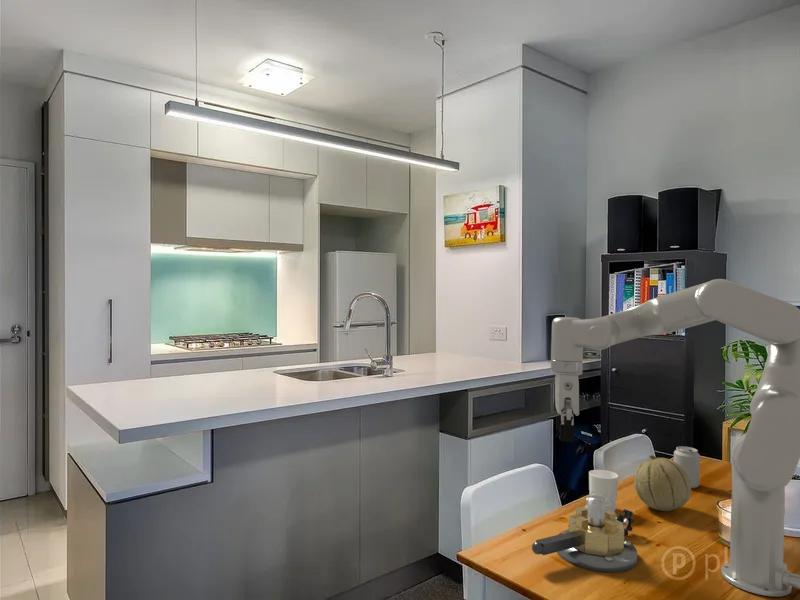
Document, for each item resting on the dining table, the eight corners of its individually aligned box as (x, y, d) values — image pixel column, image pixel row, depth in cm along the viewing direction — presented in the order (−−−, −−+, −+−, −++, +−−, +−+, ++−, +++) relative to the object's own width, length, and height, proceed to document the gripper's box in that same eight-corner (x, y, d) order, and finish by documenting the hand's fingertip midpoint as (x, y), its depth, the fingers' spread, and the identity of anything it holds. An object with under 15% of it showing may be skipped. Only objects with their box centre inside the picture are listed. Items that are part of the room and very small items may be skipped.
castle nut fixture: (594, 529, 137) (595, 502, 137) (634, 549, 127) (635, 520, 127) (515, 548, 126) (516, 519, 126) (552, 572, 115) (552, 540, 115)
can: (703, 489, 174) (704, 452, 174) (680, 489, 174) (681, 451, 174) (691, 481, 181) (692, 445, 181) (668, 481, 181) (669, 445, 181)
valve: (578, 523, 147) (620, 539, 137) (578, 498, 146) (620, 513, 137) (592, 517, 151) (634, 533, 141) (593, 493, 151) (634, 507, 141)
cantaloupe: (694, 523, 148) (696, 467, 148) (635, 515, 152) (636, 461, 152) (685, 503, 162) (686, 452, 162) (631, 496, 166) (632, 447, 166)
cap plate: (648, 553, 130) (649, 498, 130) (618, 581, 117) (619, 520, 116) (576, 530, 142) (577, 479, 142) (541, 553, 129) (542, 497, 129)
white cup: (582, 505, 159) (582, 471, 158) (603, 502, 162) (603, 468, 162) (602, 516, 151) (603, 480, 151) (623, 512, 154) (624, 476, 154)
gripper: (587, 372, 127) (585, 446, 127) (577, 363, 144) (576, 428, 144) (553, 371, 128) (551, 444, 128) (548, 362, 145) (546, 426, 145)
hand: (564, 436), depth 136 cm, fingers open, 9 cm apart
